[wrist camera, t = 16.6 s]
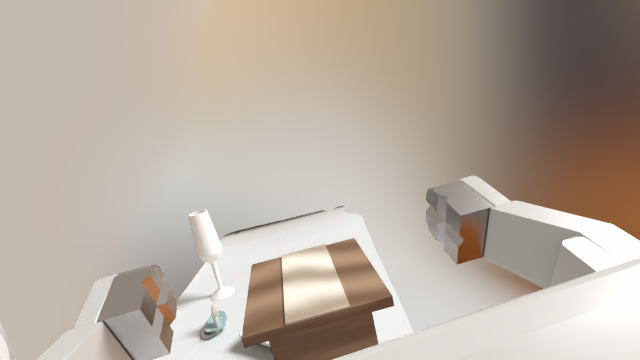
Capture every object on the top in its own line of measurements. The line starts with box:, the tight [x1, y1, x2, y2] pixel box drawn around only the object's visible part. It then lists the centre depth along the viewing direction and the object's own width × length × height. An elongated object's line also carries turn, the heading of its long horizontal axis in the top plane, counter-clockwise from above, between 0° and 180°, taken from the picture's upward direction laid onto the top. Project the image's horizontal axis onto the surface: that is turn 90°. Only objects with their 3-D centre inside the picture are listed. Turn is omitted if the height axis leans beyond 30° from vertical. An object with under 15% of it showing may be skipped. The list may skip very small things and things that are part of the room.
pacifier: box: [201, 304, 226, 339], centre depth 77 cm, size 7×6×6 cm
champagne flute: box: [189, 209, 235, 301], centre depth 91 cm, size 7×7×24 cm
